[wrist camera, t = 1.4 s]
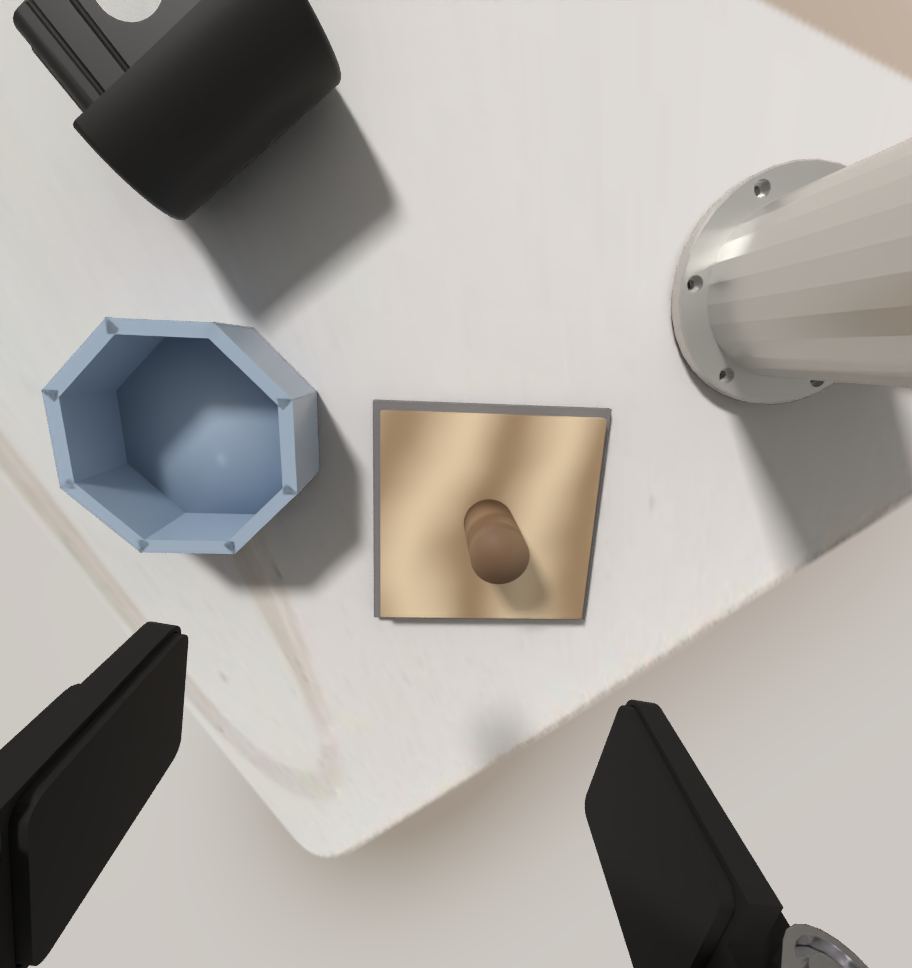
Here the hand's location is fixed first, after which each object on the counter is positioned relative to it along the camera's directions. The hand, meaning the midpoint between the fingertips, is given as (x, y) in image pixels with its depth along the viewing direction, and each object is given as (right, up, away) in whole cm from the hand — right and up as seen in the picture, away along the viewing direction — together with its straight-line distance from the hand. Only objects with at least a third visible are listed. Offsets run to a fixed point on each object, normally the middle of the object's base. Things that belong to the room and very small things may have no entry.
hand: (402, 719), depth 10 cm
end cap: (-10, +24, +14) cm, 29 cm away
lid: (+3, +3, +19) cm, 20 cm away
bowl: (-13, +8, +18) cm, 23 cm away
